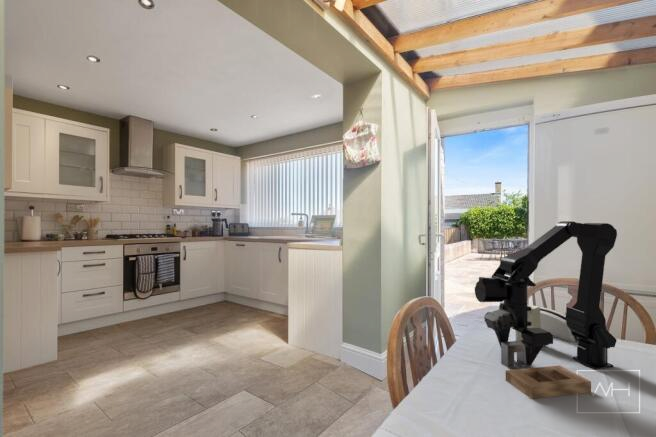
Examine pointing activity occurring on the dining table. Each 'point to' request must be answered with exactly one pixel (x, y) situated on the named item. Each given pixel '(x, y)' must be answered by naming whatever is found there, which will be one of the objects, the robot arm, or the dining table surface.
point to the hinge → (555, 324)
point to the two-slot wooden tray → (547, 381)
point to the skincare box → (531, 320)
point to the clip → (510, 349)
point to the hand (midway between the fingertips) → (515, 357)
